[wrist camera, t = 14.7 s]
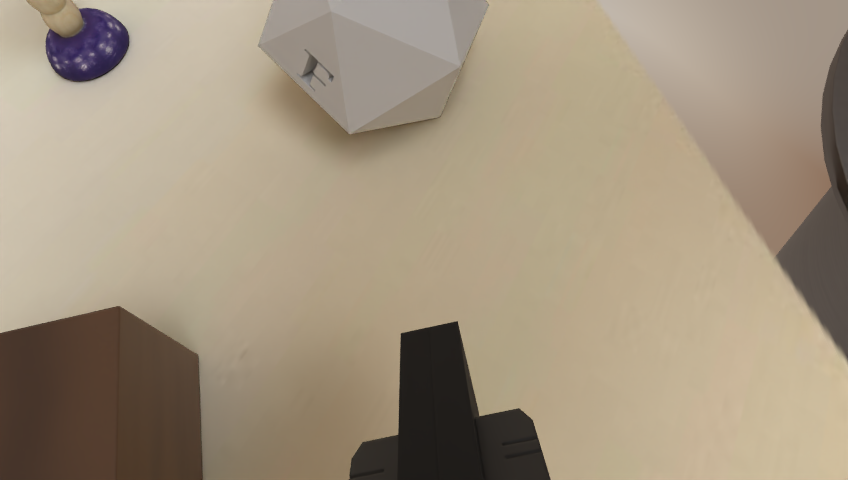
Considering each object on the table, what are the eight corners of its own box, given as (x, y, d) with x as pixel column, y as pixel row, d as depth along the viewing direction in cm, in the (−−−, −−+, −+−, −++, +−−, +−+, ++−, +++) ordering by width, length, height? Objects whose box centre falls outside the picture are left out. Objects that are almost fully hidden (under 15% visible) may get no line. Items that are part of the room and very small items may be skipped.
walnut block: (198, 354, 28) (119, 304, 22) (204, 509, 25) (115, 494, 20) (59, 385, 28) (-52, 343, 23) (50, 541, 25) (-79, 536, 20)
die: (294, 46, 35) (178, 28, 26) (406, -102, 32) (321, -183, 23) (412, 160, 35) (339, 185, 25) (536, 21, 32) (505, -10, 22)
